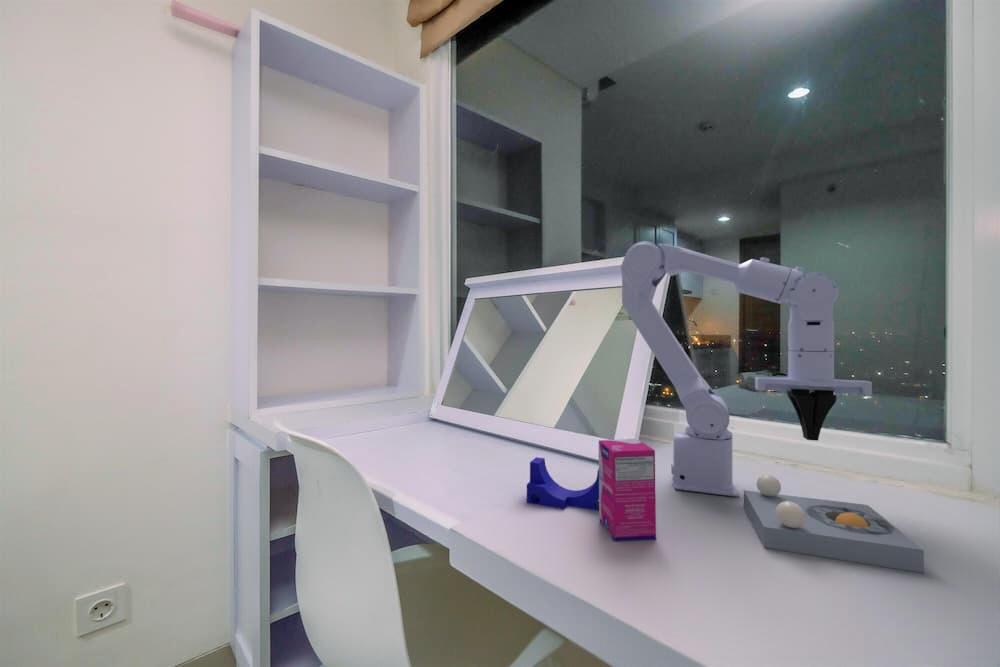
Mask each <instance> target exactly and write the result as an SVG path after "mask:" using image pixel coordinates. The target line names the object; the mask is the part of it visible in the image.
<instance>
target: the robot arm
mask: <svg viewBox="0 0 1000 667" xmlns="http://www.w3.org/2000/svg"><path fill="white" fill-rule="evenodd" d="M658 246H659V247H658ZM658 246H657V245H656V244H655V243H653V242H651V241H645V240H644V241H638V242H636V243H634V244H633V245H632V246H630V247H629V248H628V249H627V251H626V253H625V254H624V257H623V260H622V263H621V265H620V270H621V277H622V278H621V303H622V306H623V308H624V309H625V311H626V313H627V314H628V316H629V318H630V319H631V321H632V322H633V324H634V326H635V327H636V329H637V330H638V332H639V333H640V335H641V336H642V338H643V339H644V341H645V343H646V344H647V346H648V348H649V349H650V350H651V352H652V353H653V355H654V357H655V358H656V360H657V361H658V363H659V365H660V366H661V368H662V369H663V371H664V372H665V375H667V377H668V378H669V379H668V380H670V382H671V383H672V385H673V386H674V388H675V389H676V390H675V391H676V392H677V395H678V399H679V400H680V403H681V404H682V406H683V407H684V410H685V414H686V422H687V424H688V426H687V427H685V431H683V432H682V431H681V432H680V431H679V432H678V431H677V432H676V431H675V432H673V434H672V435H673V436H672V438H673V439H672V463H671V465H670V468H671V472H670V473H671V475H672V478H673V488H674V489H675V490H678V491H679V490H681V491H689V492H697V493H705V494H713V495H721V496H728V497H729V496H730V497H735V498H736V497H739V494H740V493H739V492H738V490H737V488H736V486H735V484H734V481H733V433H732V432H731V431H730V430H729V429H728V427H729V425H730V413H731V412H730V406H729V403H728V402H727V400H726V399H725V398H724V397H723V396H722V395H720V394H718V393H716V392H715V391H714V390H713V389H712V388H711V386H710V385H709V383H708V382H707V381H706V380H705V379H704V378H703V376H702V375H701V374H700V372H699V371H698V369H697V367H696V366H695V365H694V363H693V362H692V359H691V358H690V357H689V355H688V354H687V353H686V351H685V349H684V348H683V346H682V345H681V344H680V342H679V341H678V339H677V338H676V336H675V334H674V333H673V332H672V330H671V328H670V327H669V325H668V324H667V322H666V321H665V319H664V318H663V316H662V315H661V313H660V312H659V310H658V308H657V307H656V305H655V304H654V303H653V300H654V297H655V294H656V292H657V287H658V285H660V283H661V281H662V280H663V279H664V277H665V276H666V275H668V276H670V277H673V276H676V275H679V274H682V273H686V272H687V273H690V274H695V275H699V276H703V277H707V278H711V279H715V280H720V281H724V282H729V283H732V284H733V285H734V287H735V289H736V290H737V292H738V293H739V294H742V295H747V296H751V297H754V298H757V299H762V300H764V301H765V300H766V301H769V302H773V303H777V304H782V303H786V304H787V306H788V307H789V320H788V323H787V324H788V325H787V328H788V329H787V332H788V333H787V346H788V348H787V349H788V351H787V352H788V353H787V358H788V359H787V365H788V366H787V371H788V373H787V374H788V375H787V377H777V376H776V377H771V376H770V377H769V376H768V377H762V376H761V377H760V376H758V377H757V376H756V377H755V378H754V379H755V380H754V382H755V383H754V384H755V386H754V387H755V390H758V391H780V392H781V391H783V392H784V391H785V392H786V394H787V397H788V399H789V400H790V402H791V404H792V406H793V408H794V410H795V412H796V415H797V418H798V421H799V424H800V427H801V430H802V431H801V432H802V438H804V439H805V440H808V441H819V438H820V433H821V430H822V427H823V424H824V423H825V420H826V419H827V418H826V417H827V415H828V414H829V412H830V410H831V409H832V408H833V407H834V405H835V403H837V395H836V394H850V395H851V394H852V395H853V394H854V395H865V396H872V395H873V382H872V381H868V380H854V379H853V380H851V379H839V378H837V379H835V321H834V318H833V317H834V310H833V309H834V305H833V304H834V303H835V302H836V300H837V299H838V297H839V294H840V289H839V288H837V284H836V282H835V280H834V279H833V278H831V276H829V275H827V274H825V273H824V272H816V271H812V272H807V273H804V274H803V272H804V269H805V268H804V267H802V266H795V268H791V267H787V266H783V265H779V264H775V263H772V262H770V258H768V257H760V259H759V260H757V259H754V258H751V259H749V260H747V261H745V262H743V263H737V262H733V261H730V260H726V259H722V258H719V257H715V256H712V255H708V254H705V253H701V252H698V251H694V250H691V249H688V248H684V247H680V246H676V245H671V244H666V243H658ZM660 248H661V249H660ZM799 386H800V387H799ZM810 387H812V388H810ZM813 387H815V388H813ZM816 387H817V388H816Z"/></svg>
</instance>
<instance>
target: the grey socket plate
mask: <svg viewBox="0 0 1000 667" xmlns="http://www.w3.org/2000/svg"><path fill="white" fill-rule="evenodd" d="M784 501H790V502H794V503H796V504H797V505H799V506H800V507H801V508H802V509H803V511H804V513H805V516H806V519H805V522H804V524H803V525H802V526H800V527H798V528H790V527H787V526H785V525H783V524H782V523H781V522H780V521H779V520H778V518H777V516H776V507H777V506H778V504H780V503H781V502H784ZM743 509H744V510H745V513H746V515H747V516H748V517H747V518H748V519H749V521H750V523H751V524H752V526H753V528H754V530H755V532H756V534H757V537H758V539H759V541H760V542H761V544H762V546H763V548H765V549H770V550H771V549H772V550H778V551H783V552H790V553H796V554H802V555H808V556H809V555H811V556H816V557H822V558H827V559H835V560H840V561H845V562H847V561H848V562H853V563H859V564H866V565H872V566H877V567H878V566H879V567H882V568H883V567H885V568H891V569H896V570H902V571H909V572H916V573H921V574H924V573H925V550H924V549H923V548H922V547H921V546H919V545H918V544H917V543H916V542H915V541H913V539H911V538H910V537H909V536H907V535H906V534H905V533H904V532H902V531H901V530H899V529H898V528H897V527H896V526H894V525H893V524H892V523H891V522H890V521H888V520H887V519H886V518H885V517H883V516H882V515H881V514H880V513H878V511H876V510H874V509H873V508H872V507H871V506H870V505H868V504H862V503H854V502H847V501H838V500H828V499H821V498H812V497H803V496H796V495H788V494H787V495H786V494H780V493H779V494H778V495H776V496H772V497H770V496H766V495H764V494H762V493H761V492H760V491H753V490H752V491H751V490H746V489H745V490H744V489H743ZM842 513H854V514H857V515H859V516H860V517H862V518H863V519H864V520H865V521H866V522H867V523H868V525H869V527H856V526H849V525H845V524H842V523H838V522H835V519H836V518H837V516H838V515H840V514H842Z"/></svg>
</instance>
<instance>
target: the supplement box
mask: <svg viewBox="0 0 1000 667" xmlns="http://www.w3.org/2000/svg"><path fill="white" fill-rule="evenodd" d="M598 469H599V500H598V501H599V512H598V513H599V514H598V515H599V522H600V523H601V525H603V527H604V528H605V530H606V532H607V533H608V534H609V535H610V537H611V539H612V540H613V541H614V542H627V541H629V542H630V541H649V540H650V541H651V540H653V541H655V540H657V508H656V507H657V504H656V503H657V502H656V497H657V496H656V494H657V493H656V451H655V449H654V448H652V447H650V446H648V444H646V443H644V442H643V441H641V440H640V439H637V438H623V439H622V438H621V439H600V440H598Z"/></svg>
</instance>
